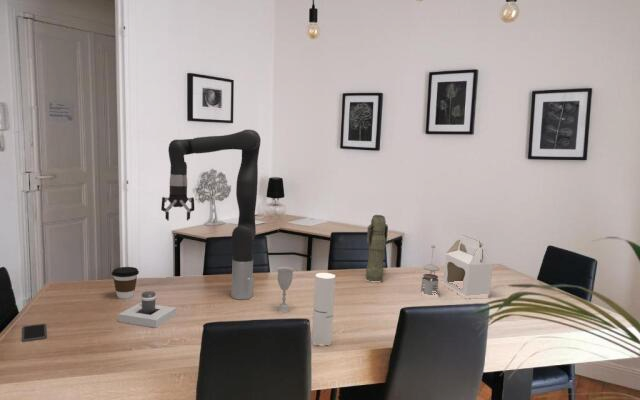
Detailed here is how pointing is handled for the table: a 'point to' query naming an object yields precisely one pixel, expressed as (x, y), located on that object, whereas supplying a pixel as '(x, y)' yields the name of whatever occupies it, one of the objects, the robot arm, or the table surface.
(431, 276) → the french press
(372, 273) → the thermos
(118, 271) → the coffee cup
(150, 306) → the lens
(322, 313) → the cylindrical container
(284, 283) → the chalice
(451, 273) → the gable box
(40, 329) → the cell phone
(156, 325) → the plate
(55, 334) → the table surface
